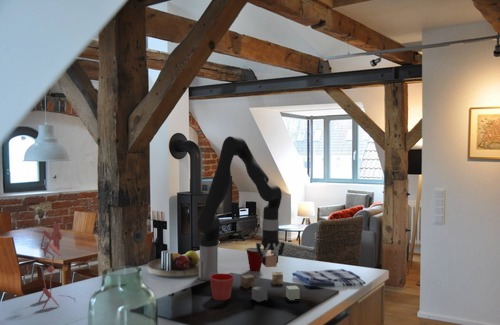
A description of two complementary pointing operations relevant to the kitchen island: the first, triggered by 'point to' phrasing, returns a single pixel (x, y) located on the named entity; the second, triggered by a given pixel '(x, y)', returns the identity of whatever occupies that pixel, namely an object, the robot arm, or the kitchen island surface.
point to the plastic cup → (254, 259)
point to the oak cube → (277, 278)
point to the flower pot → (221, 286)
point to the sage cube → (292, 292)
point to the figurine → (56, 238)
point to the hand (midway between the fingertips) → (269, 264)
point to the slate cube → (259, 293)
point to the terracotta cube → (271, 260)
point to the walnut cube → (247, 281)
